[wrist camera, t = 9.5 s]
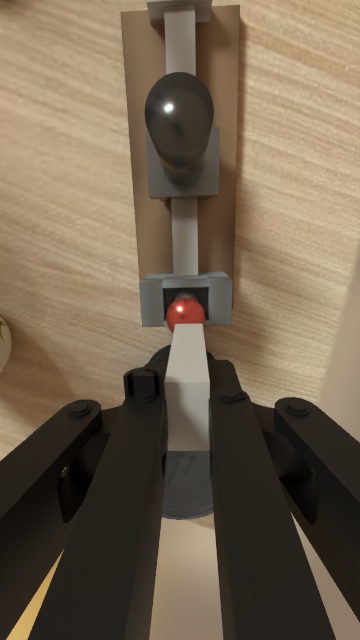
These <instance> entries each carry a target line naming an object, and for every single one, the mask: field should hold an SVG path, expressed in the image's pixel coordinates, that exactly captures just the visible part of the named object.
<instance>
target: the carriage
mask: <svg viewBox="0 0 360 640" xmlns="http://www.w3.org/2000/svg"><path fill="white" fill-rule="evenodd" d="M213 118H214V106H213V101H212V97H211V95H210V92H209V90H208V89H207V87H206V86H205V84H204V83H203V82H202V81H201V80H200V79H198V78H197V77H196V76H194V75H192V74H189V73H186V72H173V73H170V74H167V75H165V76H163V77H162V78H160V79H159V80H158V81H157V82H156V83H155V84H154V85H153V87H152V88H151V90H150V92H149V94H148V96H147V99H146V103H145V122H146V126H147V129H148V130H145V140H146V158H147V175H148V193H149V198H150V199H151V200H154V199H159V200H160V201H161V202H165V201H169V199H181V198H200V200H208V199H209V197H218V195H219V147H220V127H212V123H213Z"/></svg>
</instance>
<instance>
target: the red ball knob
mask: <svg viewBox="0 0 360 640" xmlns="http://www.w3.org/2000/svg"><path fill="white" fill-rule="evenodd" d="M166 321H167V325H168V327H169V329H170V330H171V331H172V332H173V333H174V328H175V324H202V325H203V326H204V323H205V315H204V310H203V308H202V306H201V304H200V303H199V302H198V298H197V297H196V295H195V294H194V293H192V292H189V291H183V292H180V293H179V294H178V295H177V296H176V297H175V299H174V302H173V303H172V304H171V305H170V307H169V309H168V312H167V316H166Z"/></svg>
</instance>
